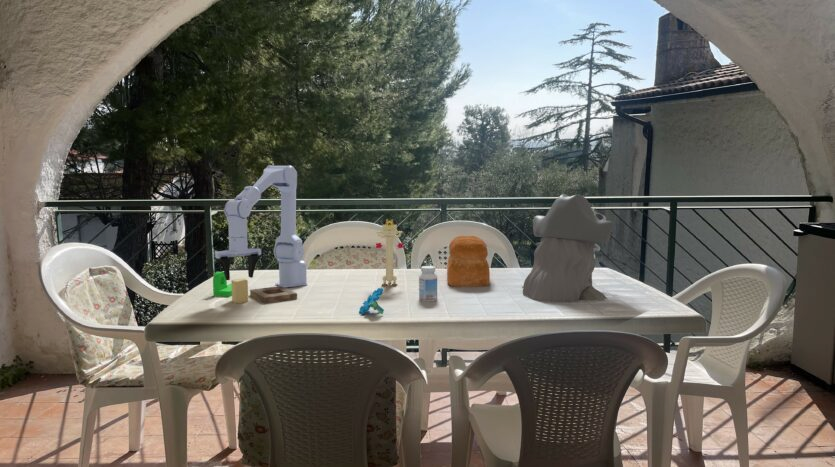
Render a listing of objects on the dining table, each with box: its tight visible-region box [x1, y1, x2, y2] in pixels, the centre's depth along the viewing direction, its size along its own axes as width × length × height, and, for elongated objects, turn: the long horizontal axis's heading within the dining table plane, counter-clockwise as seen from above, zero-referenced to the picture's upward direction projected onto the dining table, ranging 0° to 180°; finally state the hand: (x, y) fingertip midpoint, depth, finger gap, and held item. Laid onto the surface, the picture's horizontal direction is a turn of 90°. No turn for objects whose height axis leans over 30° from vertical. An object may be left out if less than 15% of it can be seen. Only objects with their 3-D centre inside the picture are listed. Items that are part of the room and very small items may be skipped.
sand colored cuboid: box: [230, 278, 249, 304], centre depth 195 cm, size 4×4×7 cm
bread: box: [446, 235, 491, 288], centre depth 228 cm, size 16×26×17 cm, turn 178°
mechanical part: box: [212, 271, 232, 298], centre depth 207 cm, size 12×6×8 cm, turn 169°
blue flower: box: [358, 286, 385, 315], centre depth 180 cm, size 11×6×10 cm
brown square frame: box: [249, 285, 298, 304], centre depth 200 cm, size 11×14×2 cm
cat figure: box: [375, 219, 404, 287], centre depth 220 cm, size 10×9×25 cm
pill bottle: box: [418, 265, 438, 302], centre depth 197 cm, size 6×6×11 cm
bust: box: [521, 193, 615, 303], centre depth 204 cm, size 34×34×35 cm
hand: (239, 278), depth 194 cm, fingers open, 7 cm apart
